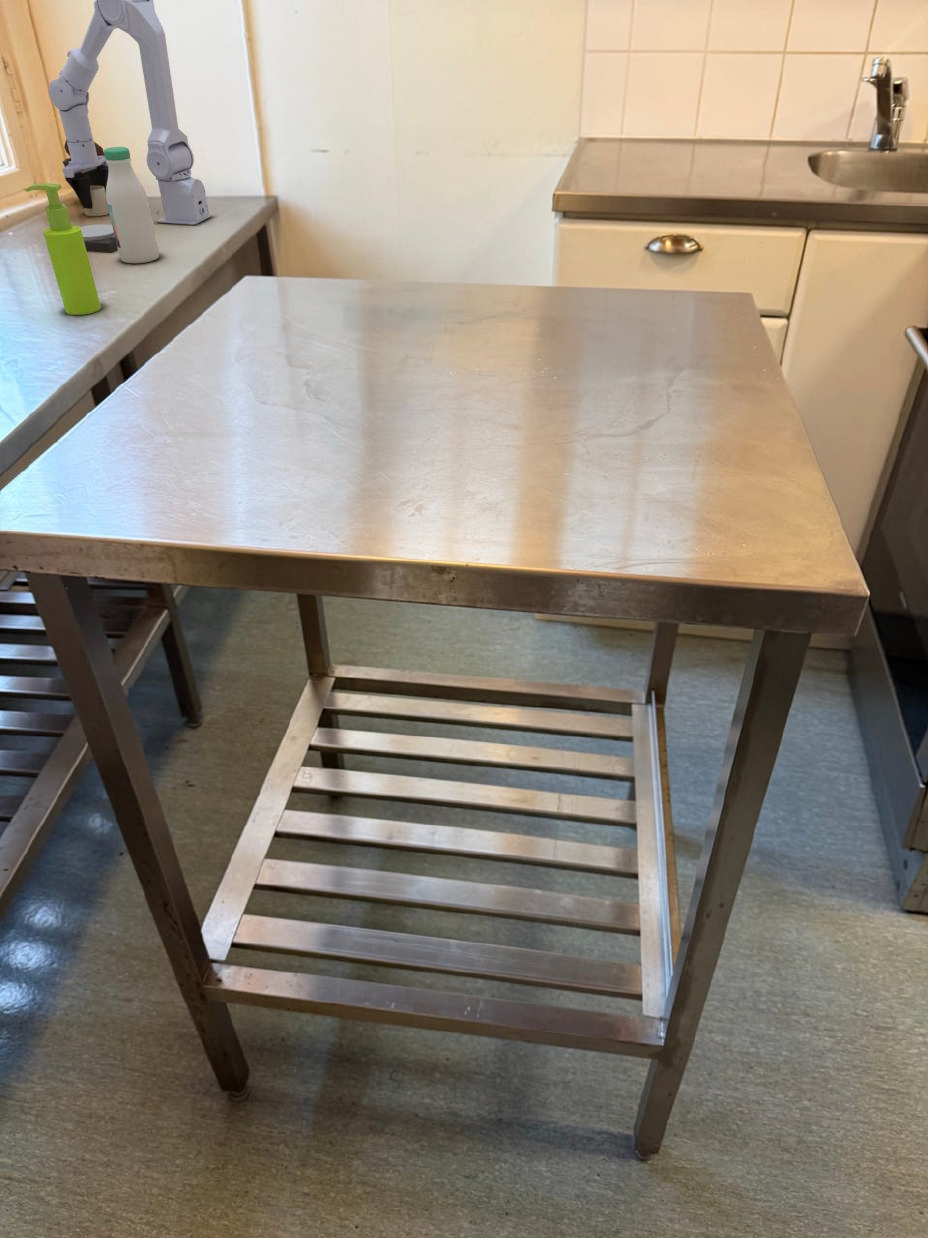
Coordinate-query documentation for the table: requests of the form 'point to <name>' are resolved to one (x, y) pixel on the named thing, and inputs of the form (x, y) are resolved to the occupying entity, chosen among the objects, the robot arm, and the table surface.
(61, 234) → the soap dispenser
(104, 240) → the scale
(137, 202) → the milk bottle
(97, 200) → the light grey cup
